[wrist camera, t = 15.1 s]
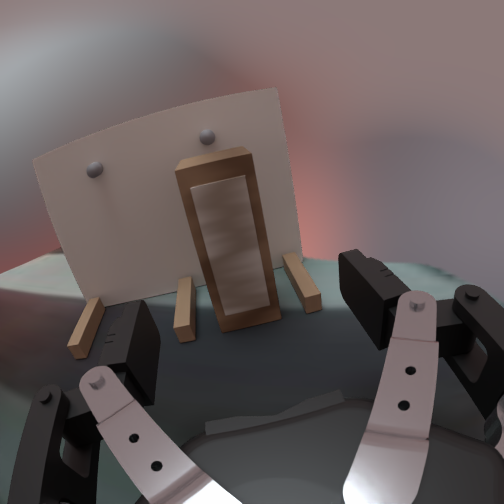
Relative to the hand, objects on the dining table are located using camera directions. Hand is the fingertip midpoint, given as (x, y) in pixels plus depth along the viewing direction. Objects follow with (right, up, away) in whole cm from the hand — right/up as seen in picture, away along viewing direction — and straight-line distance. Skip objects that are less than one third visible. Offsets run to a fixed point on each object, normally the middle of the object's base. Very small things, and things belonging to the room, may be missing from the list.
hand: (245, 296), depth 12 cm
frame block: (0, -3, +12) cm, 12 cm away
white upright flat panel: (-5, -3, +13) cm, 15 cm away
